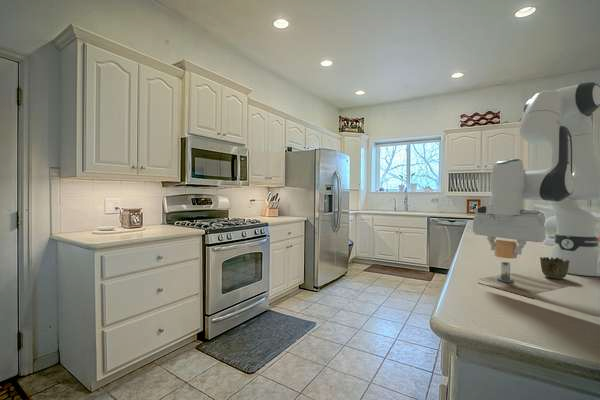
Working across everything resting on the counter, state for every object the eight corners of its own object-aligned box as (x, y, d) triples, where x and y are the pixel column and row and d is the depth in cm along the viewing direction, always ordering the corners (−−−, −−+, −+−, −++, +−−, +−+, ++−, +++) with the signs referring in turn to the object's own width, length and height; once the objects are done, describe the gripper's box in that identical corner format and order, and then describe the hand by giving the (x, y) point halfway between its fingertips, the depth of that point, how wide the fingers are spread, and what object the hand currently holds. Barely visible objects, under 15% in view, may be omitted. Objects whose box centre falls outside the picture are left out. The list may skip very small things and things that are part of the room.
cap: (501, 254, 96) (502, 239, 96) (519, 257, 91) (520, 241, 91) (491, 255, 94) (491, 240, 94) (509, 258, 89) (509, 242, 89)
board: (514, 277, 103) (514, 273, 103) (571, 290, 88) (571, 285, 88) (477, 283, 94) (477, 278, 94) (533, 299, 80) (534, 293, 80)
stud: (502, 278, 95) (502, 260, 95) (516, 282, 91) (517, 263, 91) (493, 279, 93) (494, 261, 93) (508, 283, 89) (508, 264, 89)
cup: (575, 285, 93) (575, 261, 93) (552, 285, 93) (552, 261, 93) (555, 279, 101) (555, 256, 101) (534, 279, 101) (534, 256, 101)
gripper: (550, 210, 84) (549, 257, 84) (481, 208, 103) (481, 246, 103) (538, 210, 81) (537, 259, 81) (470, 208, 100) (469, 247, 100)
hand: (505, 252), depth 92 cm, fingers closed on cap, 5 cm apart
